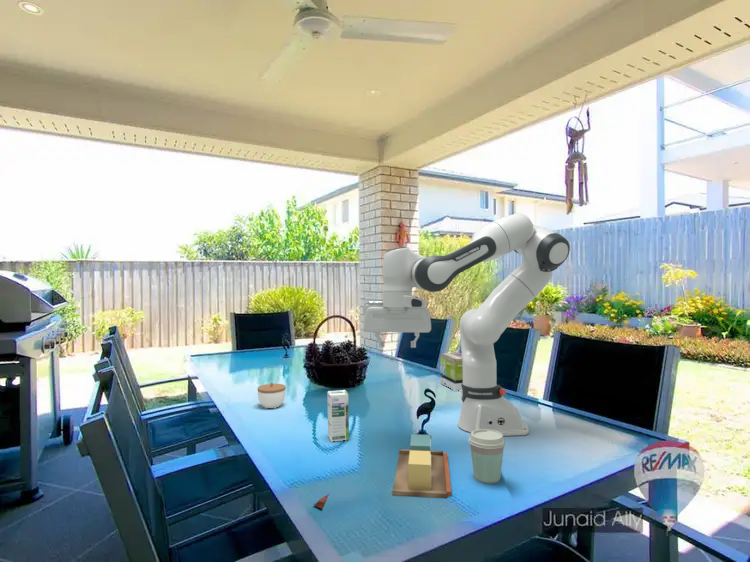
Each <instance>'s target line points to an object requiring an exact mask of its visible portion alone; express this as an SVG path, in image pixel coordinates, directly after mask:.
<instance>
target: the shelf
mask: <svg viewBox="0 0 750 562" xmlns="http://www.w3.org/2000/svg"><path fill="white" fill-rule="evenodd" d="M409 453H410V449H406V448H405V449H404V448H402V449H401V448H399V450H398V459H397V464H396V465H397V466H396V471H395V476H394V482H393V488H392V489H391V493H392V494H391V495H392V496H399V497H403V496H404V497H417V498H418V497H419V498H438V499H447V498H448V497H452V487H451V479H450V478H451V477H450V469H449V466H450V465H449V459H448V458H449V456H448V452H445V451H444V450H432V449H431V491H425V490H409V485H408V463H409Z"/></svg>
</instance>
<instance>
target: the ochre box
mask: <svg viewBox="0 0 750 562" xmlns="http://www.w3.org/2000/svg"><path fill="white" fill-rule="evenodd" d="M409 450H410V449H409ZM408 485H409V490H425V491H431V454H430V451H415V450H410V453H409V463H408Z"/></svg>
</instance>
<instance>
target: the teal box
mask: <svg viewBox="0 0 750 562" xmlns="http://www.w3.org/2000/svg"><path fill="white" fill-rule="evenodd" d="M431 439H432V438H431V434H413V433H411V434H410V443H409V450H415V451H430V454H431V450H432V449H431V447H432V441H431Z"/></svg>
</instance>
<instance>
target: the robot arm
mask: <svg viewBox="0 0 750 562" xmlns="http://www.w3.org/2000/svg"><path fill="white" fill-rule="evenodd" d="M570 250H571V246H570V242H569V241H568V240H567V238H566V237H564V236H563V235H562V234H560V233H557V232H555V231H552V230H551V229H548V228H546V227H542V226H539V225H534V224H533V222H532V221H531V219H530V218H529V216H528V215H526V214H524V213H520V212H518V213H513V214H512V213H511V214H510V215H505V216H503V217H500V218H499V219H498V218H497V219H495V220H493V221H490V222H489V223H487V224H485V225H484V226H482V227H480V228H479V229H477V230H476V231H475V232H474V233H473V234H472V236H471V241H470V242H468V244H465V245H464V246H462V247H460V248H458V249H455V250H454V251H451V252H450V253H448V254H443V255H429V256H427V257H426V256H423V255H421V254H419V253H417V252H415V251H414V250H412V249H410V247H409V246H399V247H395V248H390V249H388V250H387V251H385V252H384V254H383V257H382V258H383V259H382V267H381V268H382V272H381V273H382V277H381V278H382V281H383V287H382V300H377V301H375V300H374V301H372V300H370V301H367V302H365V303H364V304H363V307H362V314H363V315H364V319H363V330H364V331H365V332H366V333H375V337H376V340H377V341H378V347H379V348H385V342H386V341H385V340H382V338H381V335H382V333H414V336H415V338H414V340H411V341H410V348H411V349H413V348H417V341H418V339H419V337H420V333H430V332H431V331H432V321H431V315H430V311H429V309H428V308H426V307H427V305H428V304H427V303H428V301H427V300H426V299H423V298H421V297H418V296H413V288H416V289H419V290H423V291H428V292H431V293H435V292H436V293H437V292H441V291H443V290H444V289H446V288H447V287H448V286H449V285H450V284H451V283H452V282H453V280H454V279H455V278H456V277H457V276H458V275H459V274H462V273H463V272H465V271H467V270H469V269H471V268H473V267H474V266H476V265H478V264H481V263H483V262H488V261H492V260H497V259H499V258H501V257H503V256H505V255H508V254H510V253H512V252H515V253H516V254H519V255H520V256H522V257H523V259H522V262H521V264H520V265H519V266H518V267H516V268H515V269H514V270H513V271H512V272H511V273H510V274H509V275H508V276H506V277H505V278H504V279H503V280H502V281H501V282H500V283H499V284H498V285H497V286H496V287H495V288H494V289H493V290H492V291H491V292H490V294H489V295H488V296H487V298H485V300H484V301H483V302H482V304H481V305H480V306H479V307H478V308H472V309H468V310H467V311H465V312H464V313H463V314H462V316H461V317H460V320H459V334H460V335H459V337H460V348H461V353H462V363H463V383H462V384H461V391H460V398H461V409H460V414H459V419H458V420H459V421H458V423H457V426H458V428H459V429H461V430H463V431H465V432H469V433H471V432H472V431H473V430H477V429H491V430H495V431H498V432H500V433H501V434H502V435H503V437H505V436H506V437H508V436H509V437H510V436H511V437H512V436H527V435H528V434H529V432H530V429H529V427H528V424H527V423H526V422H525V421H524V420H522V416H521V414H520V411H519V409H518V408H517V406H516V405H514V404H513V403H512V402H511V401H509V400H508V399H507V398H505V397H504V396H506V395H507V391H506V389H505V388H503V387H502V386H501V385H500V384H498V383H497V381H498V380H497V359H496V353H495V348H494V347H495V346H494V345H495V343H496V342H498V340H499V339H500V337H501V335H502V334H503V333H504V332H505V330H506V329H507V328H508V327H509V325H511V323H512V321H513V320H514V319H515V318H516V316H517V315H518V314H519V313H520V312H522V310H524V308H526V307H527V306H528V305H529V304H530V303H531V302H532V301H533V300H534V299H535V298H536V297H537V296H538V295H539V294H540V293H541V292H542V291H543V290H544V289H545V287H546V286H547V285H548V284H549V282H550V280H551V279H552V275H553V271H555V270H557V269H558V268H559V267H560V266H562V265H563V263H564V262H565V261H566V260H567V259H568V257H569V255H570Z"/></svg>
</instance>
